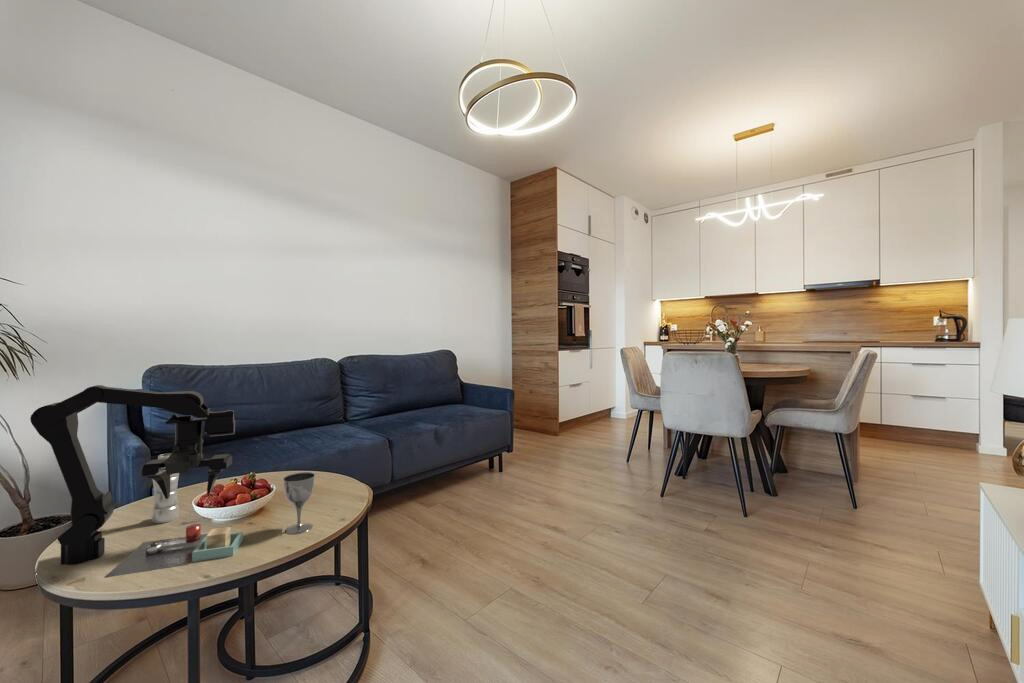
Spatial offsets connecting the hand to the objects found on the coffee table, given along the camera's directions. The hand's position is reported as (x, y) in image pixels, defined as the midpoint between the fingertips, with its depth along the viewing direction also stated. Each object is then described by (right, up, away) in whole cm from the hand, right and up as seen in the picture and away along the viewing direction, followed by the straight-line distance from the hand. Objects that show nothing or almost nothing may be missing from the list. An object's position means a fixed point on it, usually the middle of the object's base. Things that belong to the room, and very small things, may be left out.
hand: (188, 496), depth 109 cm
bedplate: (0, -12, -8) cm, 14 cm away
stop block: (+13, -11, -6) cm, 18 cm away
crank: (+1, -11, -6) cm, 12 cm away
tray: (+13, -12, -6) cm, 19 cm away
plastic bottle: (-16, -12, +11) cm, 23 cm away
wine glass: (+26, -12, +7) cm, 30 cm away
